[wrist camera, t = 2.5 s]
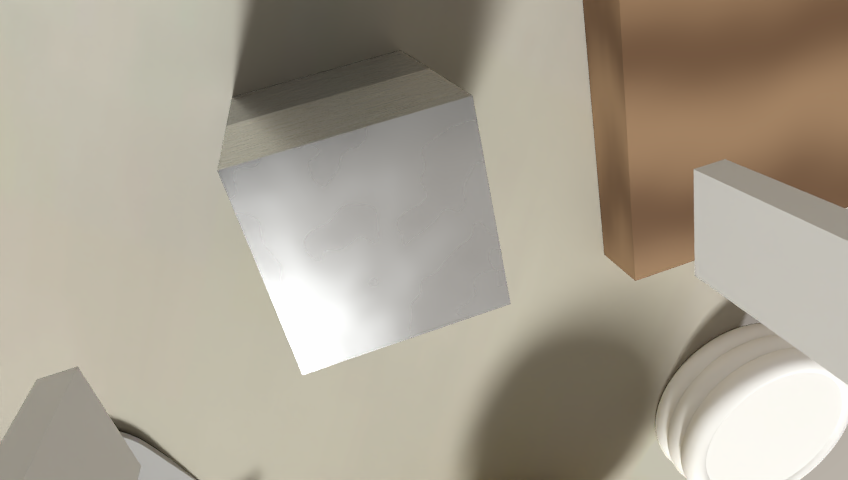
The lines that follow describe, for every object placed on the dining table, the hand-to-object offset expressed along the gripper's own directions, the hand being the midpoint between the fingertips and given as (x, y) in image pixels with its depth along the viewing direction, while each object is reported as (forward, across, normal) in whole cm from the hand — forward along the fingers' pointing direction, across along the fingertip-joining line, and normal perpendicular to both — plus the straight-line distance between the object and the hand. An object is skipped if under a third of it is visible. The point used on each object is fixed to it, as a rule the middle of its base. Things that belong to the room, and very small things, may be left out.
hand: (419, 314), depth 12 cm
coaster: (+12, +17, -20) cm, 28 cm away
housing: (+11, 0, 0) cm, 11 cm away
